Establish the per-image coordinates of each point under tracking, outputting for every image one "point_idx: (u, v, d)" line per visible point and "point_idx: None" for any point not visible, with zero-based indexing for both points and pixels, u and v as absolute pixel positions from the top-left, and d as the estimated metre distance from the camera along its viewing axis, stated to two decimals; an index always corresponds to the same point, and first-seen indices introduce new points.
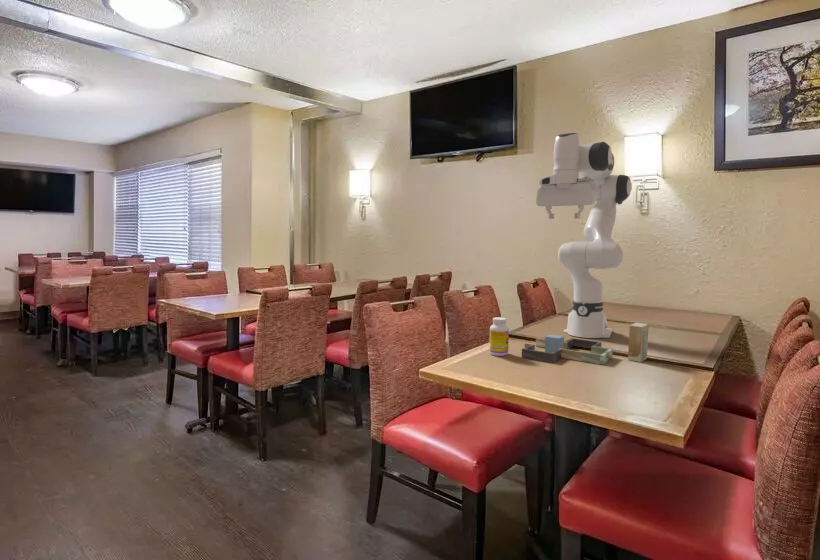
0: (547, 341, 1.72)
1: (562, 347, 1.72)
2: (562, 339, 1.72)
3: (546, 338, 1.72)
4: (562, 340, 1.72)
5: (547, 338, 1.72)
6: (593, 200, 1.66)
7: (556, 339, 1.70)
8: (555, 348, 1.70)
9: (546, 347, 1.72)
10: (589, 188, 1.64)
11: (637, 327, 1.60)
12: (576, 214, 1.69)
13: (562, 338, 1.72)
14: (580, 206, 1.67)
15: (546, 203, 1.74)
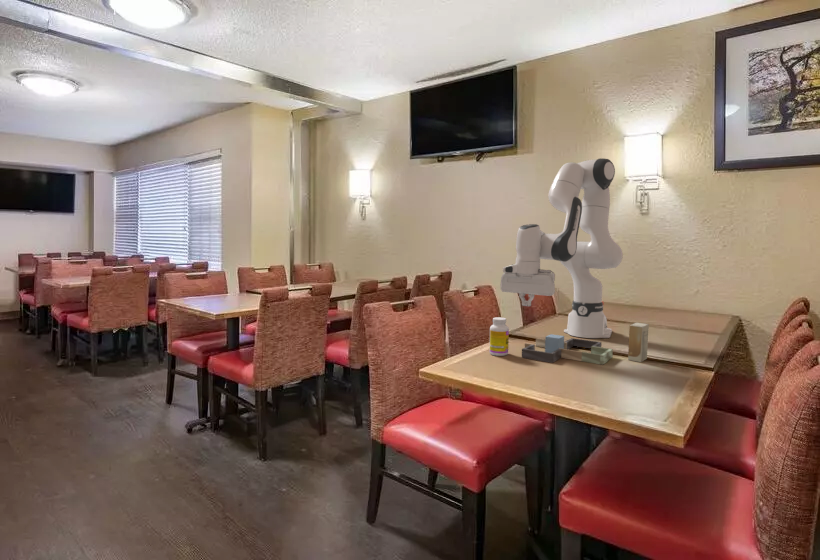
0: (547, 341, 1.72)
1: (562, 347, 1.72)
2: (562, 339, 1.72)
3: (546, 338, 1.72)
4: (562, 340, 1.72)
5: (547, 338, 1.72)
6: (553, 291, 1.71)
7: (556, 339, 1.70)
8: (555, 348, 1.70)
9: (546, 347, 1.72)
10: (549, 280, 1.70)
11: (637, 327, 1.60)
12: (527, 302, 1.77)
13: (562, 338, 1.72)
14: (530, 295, 1.76)
15: (509, 290, 1.80)
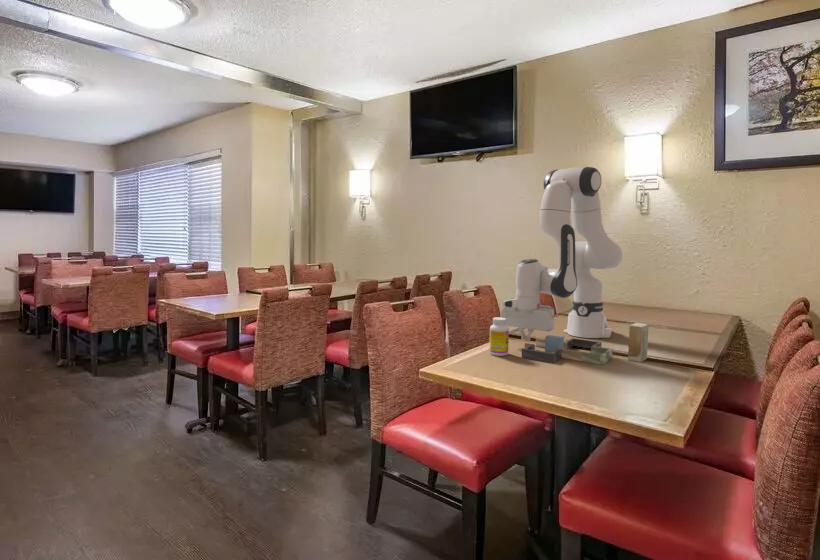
0: (547, 341, 1.72)
1: (562, 347, 1.72)
2: (562, 339, 1.72)
3: (546, 338, 1.72)
4: (562, 340, 1.72)
5: (547, 338, 1.72)
6: (552, 327, 1.73)
7: (556, 339, 1.70)
8: (555, 348, 1.70)
9: (546, 347, 1.72)
10: (548, 316, 1.71)
11: (637, 327, 1.60)
12: (526, 336, 1.78)
13: (562, 338, 1.72)
14: (530, 330, 1.77)
15: (509, 324, 1.81)
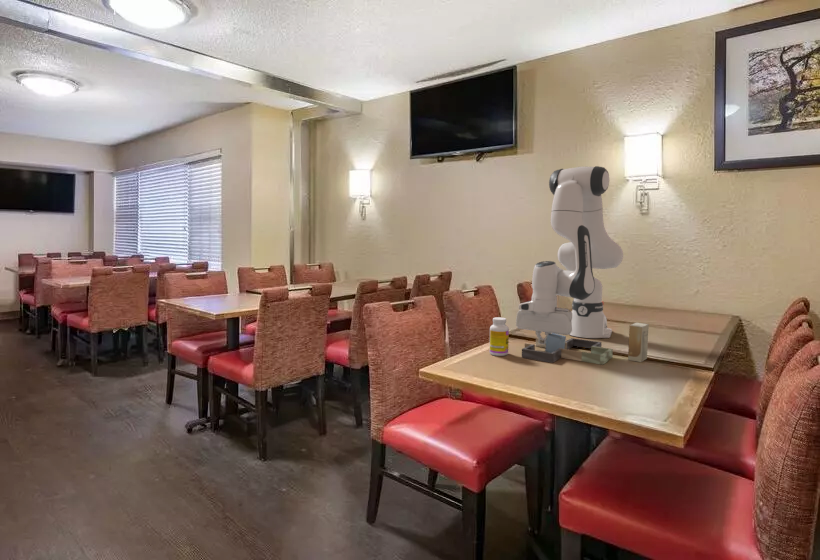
0: (548, 340, 1.72)
1: (563, 347, 1.72)
2: (563, 339, 1.71)
3: (548, 337, 1.71)
4: (563, 340, 1.72)
5: (549, 337, 1.71)
6: (570, 330, 1.69)
7: (557, 339, 1.69)
8: (556, 348, 1.70)
9: (547, 346, 1.72)
10: (566, 319, 1.68)
11: (637, 327, 1.60)
12: (543, 340, 1.74)
13: (564, 338, 1.71)
14: (547, 333, 1.73)
15: (525, 327, 1.77)
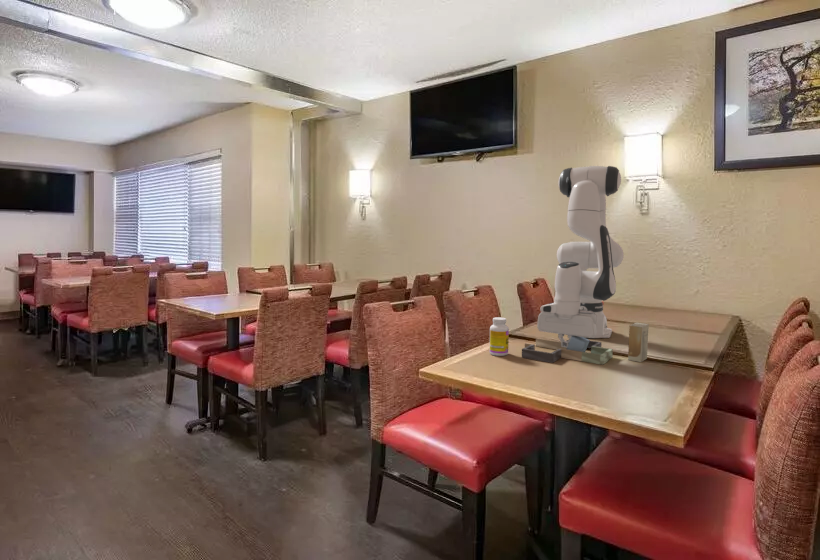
0: (571, 341, 1.66)
1: (584, 350, 1.68)
2: (587, 343, 1.66)
3: (572, 338, 1.66)
4: (587, 344, 1.67)
5: (573, 339, 1.66)
6: (595, 333, 1.64)
7: (581, 342, 1.64)
8: None
9: (569, 347, 1.67)
10: (591, 322, 1.62)
11: (637, 327, 1.60)
12: (566, 343, 1.69)
13: (587, 342, 1.66)
14: (570, 336, 1.68)
15: (547, 330, 1.72)
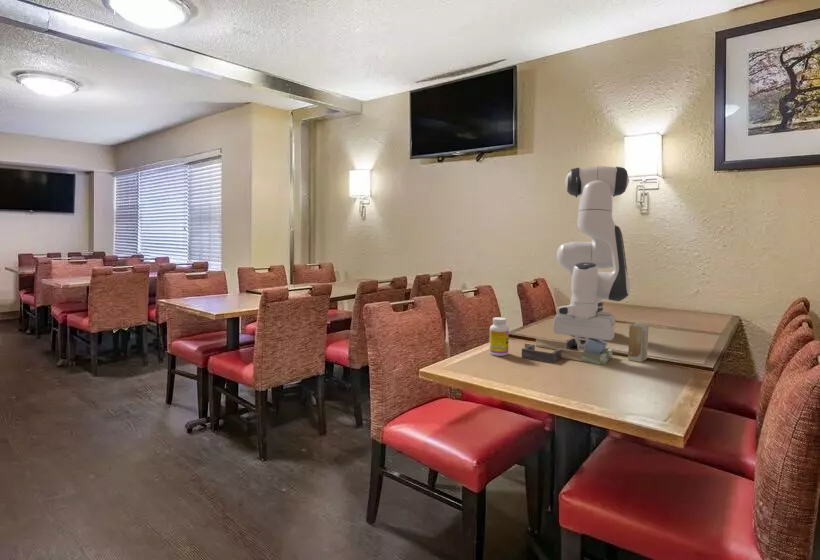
0: (589, 344, 1.63)
1: (602, 353, 1.64)
2: (605, 345, 1.63)
3: (589, 341, 1.63)
4: (604, 347, 1.63)
5: (590, 341, 1.62)
6: (613, 336, 1.60)
7: (599, 345, 1.61)
8: (595, 353, 1.62)
9: (586, 350, 1.63)
10: (609, 324, 1.59)
11: (637, 327, 1.60)
12: (583, 346, 1.66)
13: (605, 345, 1.63)
14: (587, 339, 1.64)
15: (563, 332, 1.68)
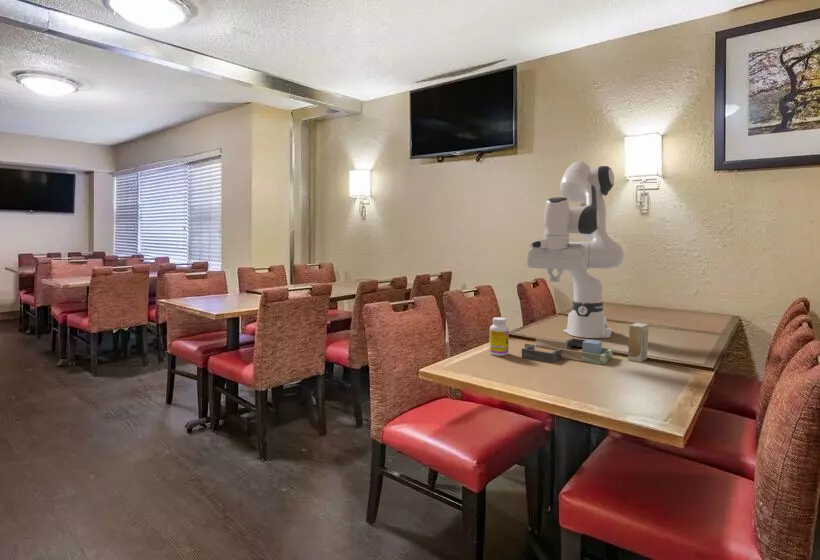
0: (584, 347, 1.64)
1: (600, 353, 1.64)
2: (600, 344, 1.64)
3: (583, 343, 1.64)
4: (600, 345, 1.64)
5: (584, 343, 1.64)
6: (583, 266, 1.67)
7: (594, 345, 1.62)
8: None
9: None
10: (579, 255, 1.66)
11: (637, 327, 1.60)
12: (556, 278, 1.72)
13: (600, 343, 1.64)
14: (559, 270, 1.71)
15: (537, 265, 1.75)
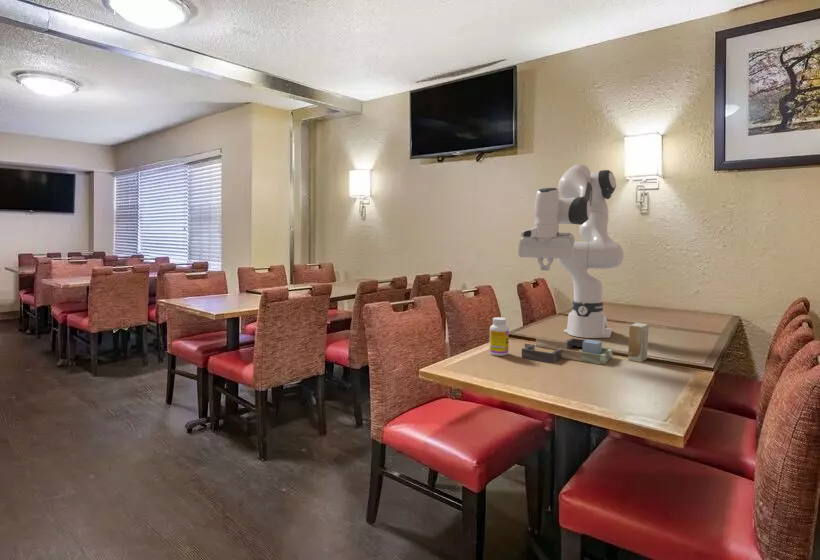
0: (584, 347, 1.64)
1: (600, 353, 1.64)
2: (600, 344, 1.64)
3: (583, 343, 1.64)
4: (600, 345, 1.64)
5: (584, 343, 1.64)
6: (572, 254, 1.70)
7: (594, 345, 1.62)
8: None
9: None
10: (568, 243, 1.69)
11: (637, 327, 1.60)
12: (546, 266, 1.76)
13: (600, 343, 1.64)
14: (549, 259, 1.74)
15: (528, 255, 1.78)
